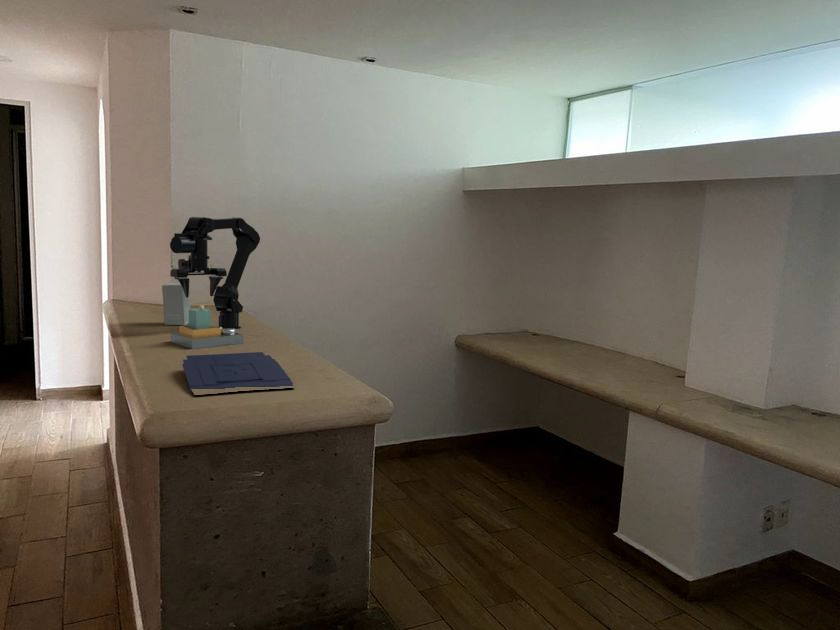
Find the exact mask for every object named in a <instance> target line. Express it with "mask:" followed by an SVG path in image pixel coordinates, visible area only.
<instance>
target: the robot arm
mask: <svg viewBox="0 0 840 630" xmlns="http://www.w3.org/2000/svg"><path fill="white" fill-rule="evenodd" d="M226 229H227V230H228V229H231V230H232V234H233V237H235V246H236V247H235V248H236V252H235V255H234V257H233V259H232V263H231V266H230V268H229V271H228V273H227V269H226V268H225V267H208V266H209V265H208V260H210V255H208V241H212V240H213V238H212V236H210V234H211V233H213V232H214V231H216V230H226ZM209 233H210V234H209ZM260 241H261V236H260V235H259V232H258V231H257V230H256V229H255V228H254V227H253V226H251V225H250V224H248V223H247V222H246V220H245V219H244V218H242V217H233V216H232V217H231V218H230V217H229V218H211V217H204V216H203V217H200V216H191V217H189V218H188V220H187V223H186V225H185V226H184V228H183V230H182V231H181V233H180V232H179V233H177V232H175V233H174V234H173V237H172V238H171V240H170V243H169V247H170V249H171V252H173V253H174V254H190V255H188V256H187V257H188V258H187V259H188V260H186V259H185V258H179V259H178V260H177V265H178V268H171V270H170V277H173V279H174V280H177V281H178V283H180V284H181V286H182V288H183V291H184V294H185V296H186V297H187V298H188V296H189V291H190V278H189V276H208V279H209V296H210V297H213V299H212V300H213V304H214V307H215V310H216V312H219V316H218V326H220V327H222V328H234V329H241V328H242V327H241V325H240V323H239V322H240V316H239V315H240V313H242V312H243V309H244V306H243V305H242V304H241V303H240V301H239V297H240V294H239V290H238V287H239V284H240V282H241V279H242V276H243V273H244V271H245V268H246V266H247V262H248V261H249V257H250V255H251V254H252V253H253V252H254V251H255V250H256V249H257V247H258V246H259V244H260ZM224 277H226V279H225V281H224V283H223V284H222V285H221V286H220V285H219V284H220V282H221V280H222V279H223V280H224Z"/></svg>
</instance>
